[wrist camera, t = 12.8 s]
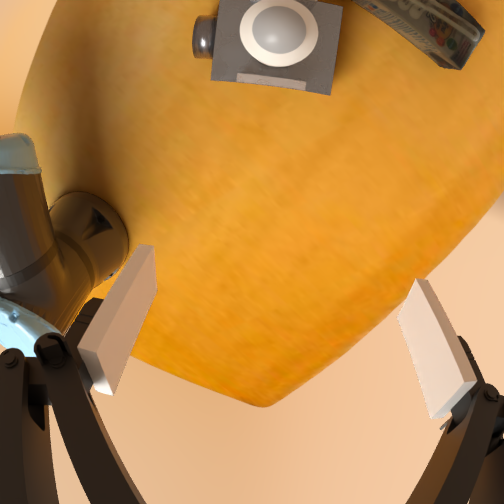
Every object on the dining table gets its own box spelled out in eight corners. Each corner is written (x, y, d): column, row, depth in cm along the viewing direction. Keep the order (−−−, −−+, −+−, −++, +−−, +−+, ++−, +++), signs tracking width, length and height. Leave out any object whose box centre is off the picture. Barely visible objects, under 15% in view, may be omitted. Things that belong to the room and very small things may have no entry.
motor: (200, 77, 33) (176, 80, 25) (208, 2, 28) (187, -19, 20) (321, 91, 33) (337, 98, 25) (332, 15, 28) (352, -2, 20)
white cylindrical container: (244, 64, 27) (235, 62, 21) (249, 10, 24) (242, -8, 18) (305, 71, 27) (315, 70, 21) (311, 16, 24) (323, 0, 17)
